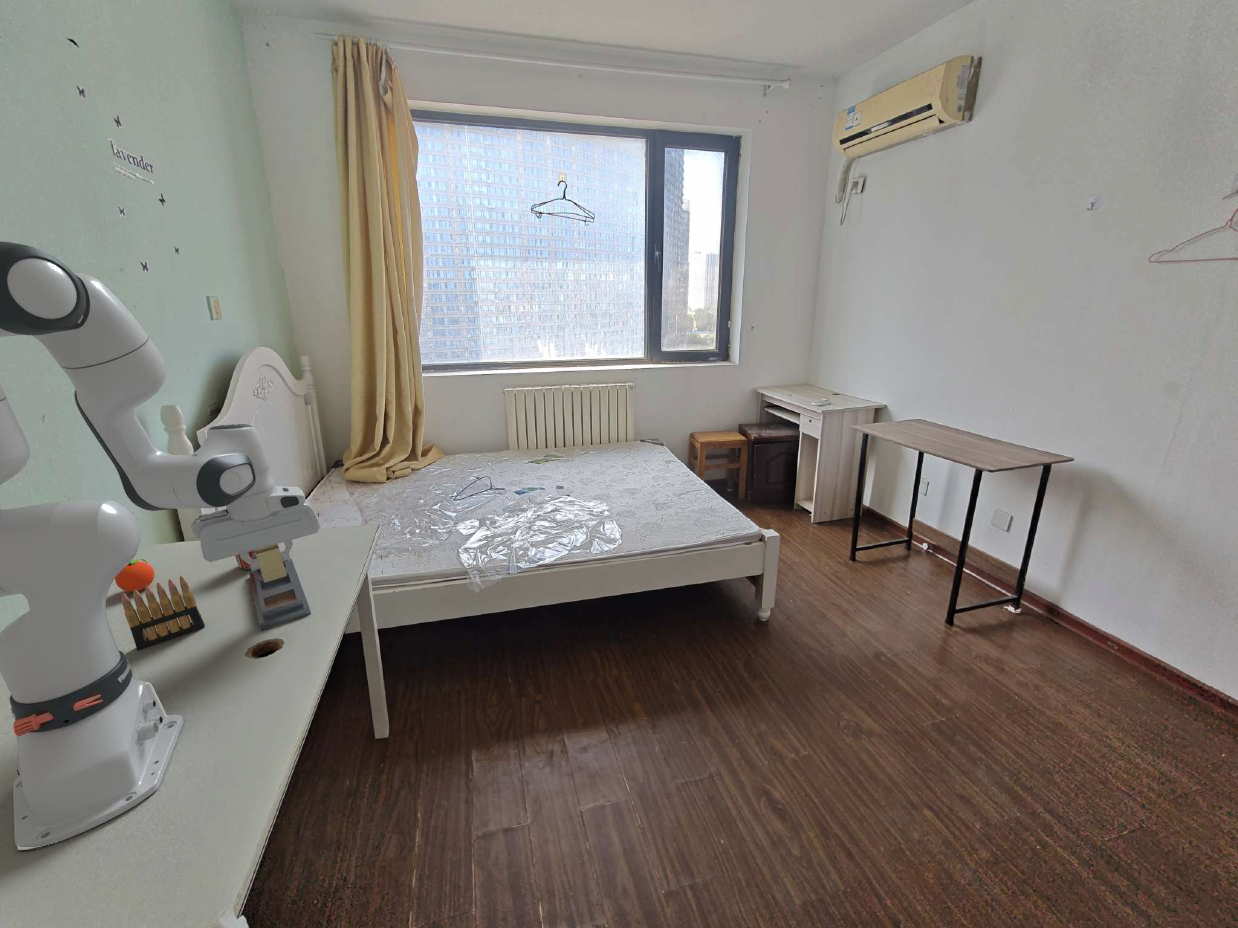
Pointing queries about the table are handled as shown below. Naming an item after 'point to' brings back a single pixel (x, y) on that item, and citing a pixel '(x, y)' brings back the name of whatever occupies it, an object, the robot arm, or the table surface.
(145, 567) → the clementine
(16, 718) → the robot arm
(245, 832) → the table surface
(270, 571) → the tan rectangular block
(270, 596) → the slotted tray
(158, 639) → the ammunition clip
